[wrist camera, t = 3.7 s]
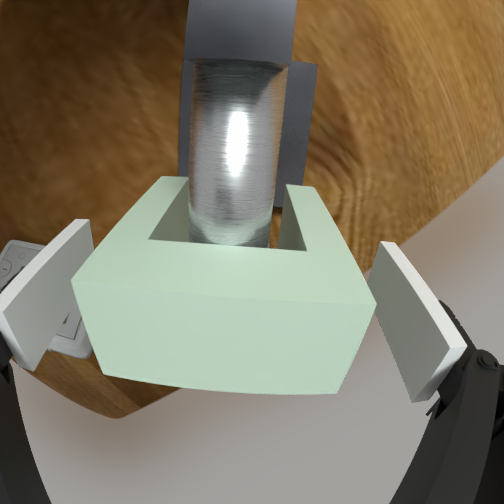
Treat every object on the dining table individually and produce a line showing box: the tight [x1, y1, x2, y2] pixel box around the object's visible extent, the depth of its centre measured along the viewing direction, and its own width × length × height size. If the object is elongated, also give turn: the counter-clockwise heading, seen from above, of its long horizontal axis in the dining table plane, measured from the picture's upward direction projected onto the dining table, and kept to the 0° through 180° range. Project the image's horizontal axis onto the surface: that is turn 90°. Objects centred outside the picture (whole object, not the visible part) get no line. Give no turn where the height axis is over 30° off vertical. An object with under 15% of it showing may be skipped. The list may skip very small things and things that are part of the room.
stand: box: [179, 0, 317, 248], centre depth 16 cm, size 10×14×18 cm
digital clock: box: [0, 240, 93, 359], centre depth 25 cm, size 16×9×11 cm, turn 69°
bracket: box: [71, 176, 377, 394], centre depth 12 cm, size 8×4×10 cm, turn 85°
